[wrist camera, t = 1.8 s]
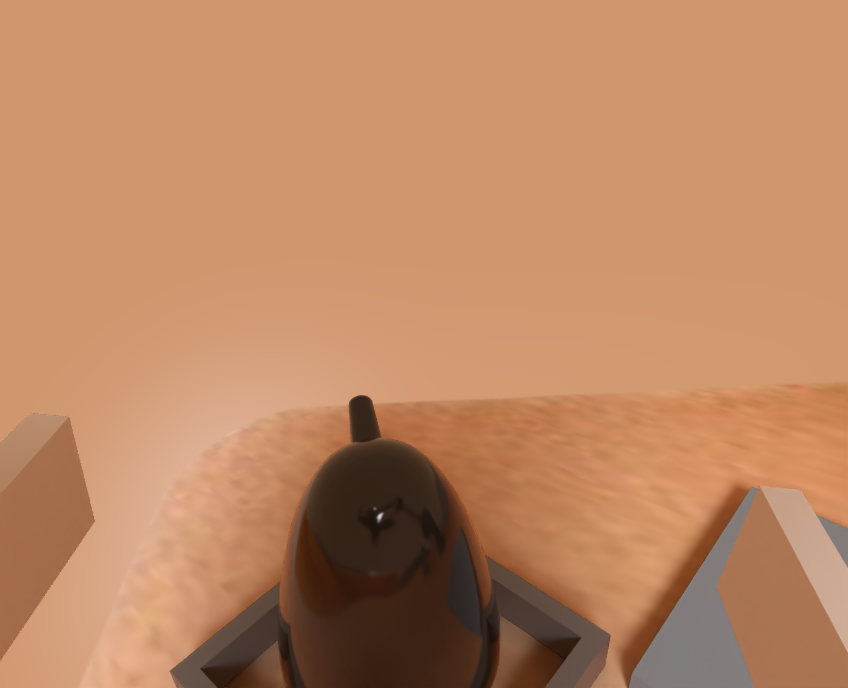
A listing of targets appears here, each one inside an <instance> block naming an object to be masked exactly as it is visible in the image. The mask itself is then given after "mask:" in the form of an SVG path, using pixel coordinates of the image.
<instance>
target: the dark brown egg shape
mask: <svg viewBox="0 0 848 688" xmlns="http://www.w3.org/2000/svg"><path fill="white" fill-rule="evenodd" d="M349 417H350V433H351V444H348V445H346V446H344V447H342V448H341V449H339V450H337V451H336V452H335V453H333V454H332V455H331V456H330V457H328V458H327V459H326V460H325V461H324V463H323V464H322V465H321V466H320V467H319V469H318V470H317V471H316V473H315V474H314V476H313V477H312V479H311V480H310V482H309V484H308V485H307V487H306V489H305V491H304V493H303V495H302V497H301V499H300V502H299V504H298V507H297V509H296V512H295V515H294V518H293V521H292V524H291V528H290V532H289V536H288V540H287V545H286V550H285V556H284V561H283V567H282V574H281V581H280V589H279V601H278V649H279V659H280V665H281V670H282V675H283V679H284V683H285V686H286V688H491V687H492V685H493V682H494V680H495V677H496V674H497V670H498V665H499V659H500V650H501V629H500V619H499V612H498V606H497V601H496V596H495V591H494V587H493V583H492V579H491V575H490V571H489V568H488V564H487V561H486V558H485V555H484V552H483V550H482V547H481V544H480V542H479V539H478V536H477V534H476V532H475V529H474V527H473V524H472V522H471V520H470V517H469V515H468V513H467V511H466V509H465V507H464V505H463V503H462V501H461V499H460V497H459V496H458V494H457V492H456V491H455V489H454V488H453V486H452V485H451V483H450V482H449V480H448V479H447V478H446V476H445V475H444V474H443V473H442V471H441V470H440V469H439V468H438V467H437V466H436V465H435V464H434V463H433V462H432V461H431V460H430V459H429V458H428V457H427V456H426V455H424V454H423V453H422V452H421V451H419V450H418V449H416V448H415V447H413V446H411V445H409V444H407V443H404V442H401V441H398V440H394V439H388V438H381V434H380V430H379V426H378V422H377V418H376V414H375V410H374V407H373V403H372V400H371V399H370V398H369V397H367V396H363V395H360V396H356V397H354V398H352V399H351V401H350V402H349Z"/></svg>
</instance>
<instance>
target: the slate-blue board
mask: <svg viewBox="0 0 848 688" xmlns="http://www.w3.org/2000/svg"><path fill="white" fill-rule="evenodd" d="M757 490H758V489H756V488H754V487H751V489H750V491H749V492H748V494H747V495H746V497H745V498H744V500H743V501H742V503H741V505H740V506H739V508H738V509H737V511H736V512H735V514H734V515H733V517H732V519H731V520H730V522H729V523H728V525H727V526H726V528H725V529H724V531H723V533H722V534H721V536H720V537H719V539H718V540H717V542H716V543H715V545H714V546H713V548H712V550H711V551H710V553H709V554H708V556H707V557H706V559H705V560H704V562H703V564H702V565H701V567H700V568H699V570H698V571H697V573H696V574H695V576H694V578H693V579H692V581H691V582H690V584H689V585H688V587H687V588H686V590H685V592H684V593H683V595H682V596H681V598H680V599H679V601H678V602H677V604H676V606H675V607H674V609H673V610H672V612H671V613H670V615H669V616H668V618H667V620H666V621H665V623H664V624H663V626H662V627H661V629H660V630H659V632H658V634H657V635H656V637H655V638H654V640H653V641H652V643H651V644H650V646H649V648H648V649H647V651H646V652H645V654H644V655H643V657H642V658H641V660H640V662H639V663H638V665H637V666H636V668H635V669H634V671H633V672H632V675H631V680H630V684H629V688H755V686H754V684H753V681H752V678H751V676H750V673H749V670H748V668H747V665H746V662H745V660H744V657H743V654H742V652H741V649H740V646H739V644H738V641H737V639H736V636H735V633H734V631H733V628H732V625H731V623H730V620H729V617H728V615H727V612H726V609H725V607H724V604H723V601H722V599H721V596H720V593H719V591H718V588H717V584H718V581H719V579H720V577H721V574H722V572H723V570H724V567H725V565H726V563H727V560H728V558H729V556H730V553H731V551H732V549H733V546H734V544H735V542H736V539H737V537H738V535H739V532H740V530H741V528H742V525H743V523H744V521H745V518H746V516H747V514H748V511H749V509H750V507H751V504H752V502H753V500H754V497H755V495H756V493H757ZM816 516H817V517H818V519H819V521H820V522H821V524H822V526H823V527H824V529H825V531H826V532H827V534H828V536H829V537H830V539H831V541H832V542H833V544H834V546H835V547H836V549H837V551H838V552H839V554H840V556H841V557H842V559H843V561H844V562H845V564H846V566H847V567H848V529H847V528H845V527H843V526H840V525H838V524H836V523H834V522H831V521H829V520H827V519H824V518H822V517H820V516H818V515H816Z"/></svg>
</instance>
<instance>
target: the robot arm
mask: <svg viewBox="0 0 848 688" xmlns="http://www.w3.org/2000/svg"><path fill="white" fill-rule="evenodd" d="M94 521H95V520H94V516H93V512H92V508H91V504H90V500H89V496H88V491H87V488H86V484H85V479H84V475H83V471H82V467H81V463H80V459H79V455H78V451H77V447H76V442H75V438H74V434H73V430H72V426H71V422H70V418H69V417H68V416H58V415H47V414H37V413H29V414H28V415H27V416H26V417H25V418H24V419H23V420H22V421H21V422H20V423H19V424H18V426H17V427H16V428H15V429H14V430H13V431H12V432H11V433H10V434H9V435H8V436H7V437H6V438H5V439H4V440H3V441H2V442H1V443H0V661H1V659H2V658H3V656H4V655H5V653H6V652H7V650H8V649H9V647H10V646H11V644H12V643H13V641H14V640H15V638H16V637H17V636H18V634H19V633H20V631H21V630H22V628H23V627H24V625H25V624H26V622H27V621H28V619H29V618H30V616H31V615H32V613H33V612H34V610H35V609H36V607H37V606H38V605H39V603H40V601H41V600H42V598H43V597H44V596H45V594H46V593H47V591H48V590H49V588H50V587H51V585H52V584H53V582H54V581H55V579H56V578H57V576H58V575H59V573H60V572H61V570H62V569H63V568H64V566H65V565H66V563H67V562H68V560H69V559H70V557H71V556H72V554H73V553H74V551H75V550H76V548H77V547H78V545H79V544H80V542H81V541H82V539H83V538H84V536H85V535H86V533H87V532H88V531H89V529H90V527H91V526H92V525H93V523H94ZM717 588H718V591H719V593H720V596H721V599H722V601H723V604H724V607H725V609H726V612H727V615H728V617H729V620H730V623H731V625H732V628H733V631H734V633H735V636H736V639H737V641H738V644H739V646H740V649H741V652H742V654H743V657H744V660H745V662H746V665H747V668H748V670H749V673H750V676H751V678H752V681H753V684H754V686H755V688H848V567H847V566H846V564H845V562H844V561H843V559H842V557H841V556H840V554H839V552H838V551H837V549H836V547H835V546H834V544H833V542H832V541H831V539H830V537H829V536H828V534H827V532H826V531H825V529H824V527H823V526H822V524H821V522H820V521H819V519H818V517H817V516H816V514H815V512H814V511H813V509H812V507H811V506H810V504H809V502H808V501H807V499H806V498H805V496H804V494H803V493H802V491H801V490H797V489H787V488H777V487H767V486H759V488H758V490H757V493H756V495H755V497H754V500H753V502H752V504H751V507H750V509H749V511H748V514H747V516H746V518H745V521H744V523H743V525H742V528H741V530H740V532H739V535H738V537H737V539H736V542H735V544H734V546H733V549H732V551H731V553H730V556H729V558H728V560H727V563H726V565H725V567H724V570H723V572H722V574H721V577H720V579H719V581H718V584H717Z"/></svg>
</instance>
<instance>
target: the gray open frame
mask: <svg viewBox="0 0 848 688" xmlns="http://www.w3.org/2000/svg"><path fill="white" fill-rule="evenodd" d="M485 558H486V561H487V564H488V568H489V571H490V575H491V579H492V583H493V587H494V591H495V596H496V601H497V606H498V612H499V614H500V615H502V616H503V617H505V618H506V619H508V620H509V621H511V622H512V623H514V624H515V625H516V626H518V627H519V628H521V629H522V630H524V631H525V632H527V633H528V634H530V635H531V636H532V637H534V638H535V639H537V640H538V641H540V642H541V643H543V644H544V645H546V646H547V647H548V648H550V649H551V650H553V651H554V652H556V653H557V654H559V655H560V656H562V657H563V658H564V659H565V661H564V662H563V664H562V665H561V666H560V668H559V669H558V670H557V672H556V673H555V674H554V676H553V677H552V678H551V680H550V681H549V682H548V684H547V685H546V686H545V688H590V687H591V685H592V684H593V682H594V681H595V680H596V678H597V677H598V675H599V674H600V672H601V671H602V669H603V668H604V666H605V664H606V658H607V653H608V647H609V642H610V636H611V635H610V634H608V633H607V632H605V631H604V630H602V629H600V628H599V627H597V626H596V625H594V624H593V623H591V622H589V621H588V620H586V619H585V618H583V617H582V616H580V615H578V614H577V613H575V612H574V611H572V610H571V609H569V608H567V607H566V606H564V605H563V604H561V603H560V602H558V601H556V600H555V599H553V598H552V597H550V596H549V595H547V594H545V593H544V592H542V591H541V590H539V589H538V588H536V587H534V586H533V585H531V584H530V583H528V582H527V581H525V580H523V579H522V578H520V577H519V576H517V575H516V574H514V573H512V572H511V571H509V570H508V569H506V568H505V567H503V566H501V565H500V564H498V563H497V562H495V561H493V560H492V559H490V558H489V557H487V556H486V555H485ZM279 589H280V582H279V583H278V584H277V585H275V586H274V587H273V588H272V589H270V590H269V591H268V592H267V593H266V594H264V595H263V596H262V597H261V598H259V599H258V600H257V601H256V602H254V603H253V604H252V605H251V606H249V607H248V608H247V609H246V610H245V611H243V612H242V613H241V614H240V615H238V616H237V617H236V618H235V619H233V620H232V621H231V622H230V623H228V624H227V625H226V626H225V627H224V628H222V629H221V630H220V631H219V632H217V633H216V634H215V635H214V636H212V637H211V638H210V639H209V640H208V641H206V642H205V643H204V644H203V645H201V646H200V647H199V648H198V649H196V650H195V651H194V652H193V653H191V654H190V655H189V656H188V657H187V658H185V659H184V660H183V661H182V662H180V663H179V664H178V665H177V666H175V667H174V668H173V669H172V670H171V671H170V673H171V675H172V678H173V680H174V682H175V685H176V687H177V688H223V687H224V686H225V685H226V684H227V683H229V682H230V681H231V680H232V679H233V678H234V677H235V676H237V675H238V674H239V673H240V672H241V671H242V670H243V669H245V668H246V667H247V666H248V665H249V664H250V663H251V662H253V661H254V660H255V659H256V658H257V657H258V656H259V655H261V654H262V653H263V652H264V651H265V650H266V649H267V648H269V647H270V646H271V645H272V644H273V643H274V642H275V641H277V640H278V601H279Z"/></svg>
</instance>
